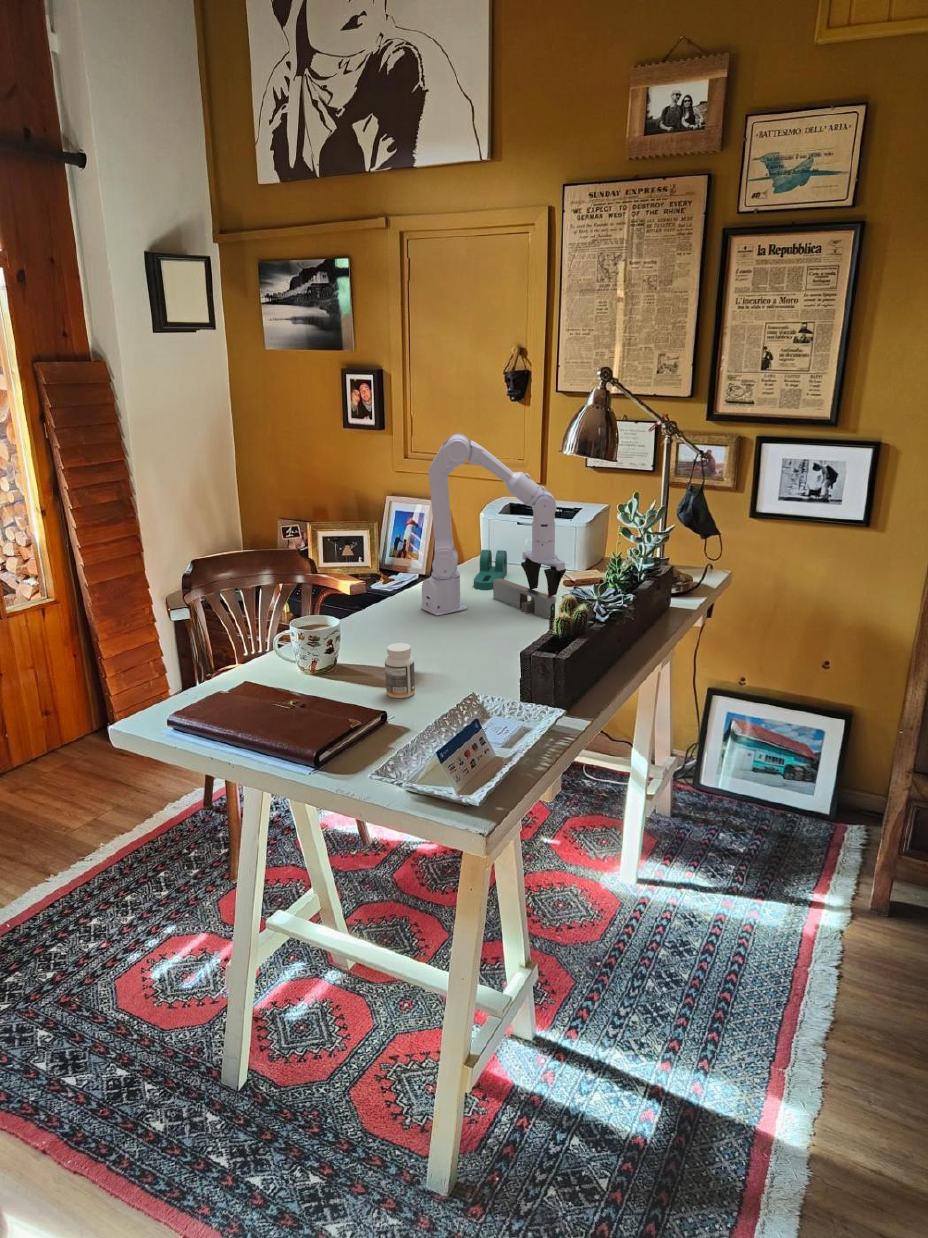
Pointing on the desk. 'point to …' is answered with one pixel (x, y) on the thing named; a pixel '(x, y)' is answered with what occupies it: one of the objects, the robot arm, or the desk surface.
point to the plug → (531, 605)
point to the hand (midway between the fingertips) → (542, 591)
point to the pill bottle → (399, 671)
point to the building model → (521, 596)
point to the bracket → (490, 569)
